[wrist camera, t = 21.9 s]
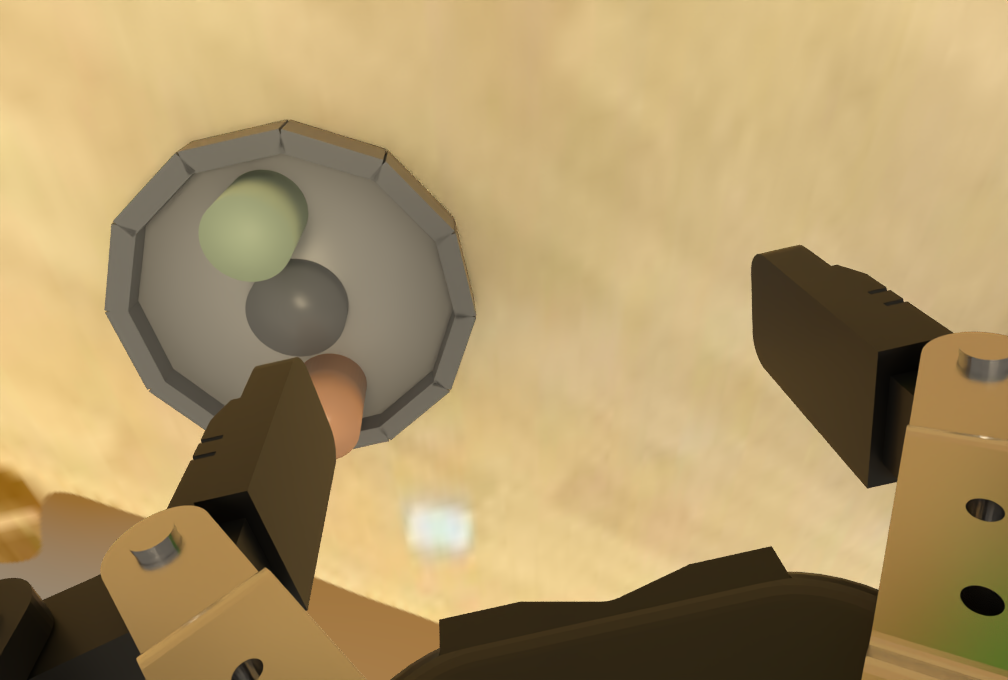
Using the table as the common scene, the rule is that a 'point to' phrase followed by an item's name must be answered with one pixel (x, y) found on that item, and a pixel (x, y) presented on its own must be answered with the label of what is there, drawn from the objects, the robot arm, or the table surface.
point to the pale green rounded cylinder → (254, 226)
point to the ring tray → (293, 278)
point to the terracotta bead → (340, 396)
